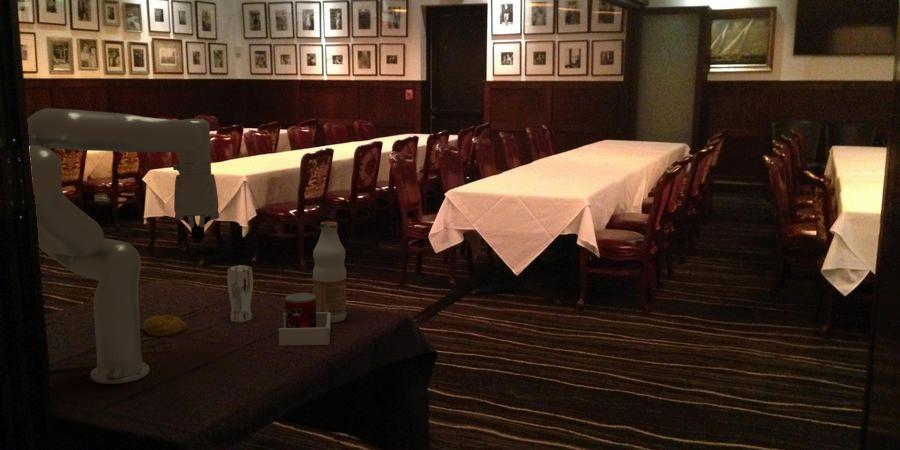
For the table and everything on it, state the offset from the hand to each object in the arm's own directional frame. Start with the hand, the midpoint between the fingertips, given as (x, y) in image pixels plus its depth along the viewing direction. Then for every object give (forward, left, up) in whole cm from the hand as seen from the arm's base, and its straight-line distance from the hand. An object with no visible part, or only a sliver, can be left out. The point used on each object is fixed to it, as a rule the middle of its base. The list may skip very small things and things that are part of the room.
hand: (198, 241), depth 206 cm
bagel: (+12, +12, -28) cm, 32 cm away
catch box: (+6, -26, -27) cm, 38 cm away
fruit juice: (+21, -32, -27) cm, 47 cm away
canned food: (+6, -25, -27) cm, 37 cm away
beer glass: (+22, -7, -27) cm, 36 cm away
